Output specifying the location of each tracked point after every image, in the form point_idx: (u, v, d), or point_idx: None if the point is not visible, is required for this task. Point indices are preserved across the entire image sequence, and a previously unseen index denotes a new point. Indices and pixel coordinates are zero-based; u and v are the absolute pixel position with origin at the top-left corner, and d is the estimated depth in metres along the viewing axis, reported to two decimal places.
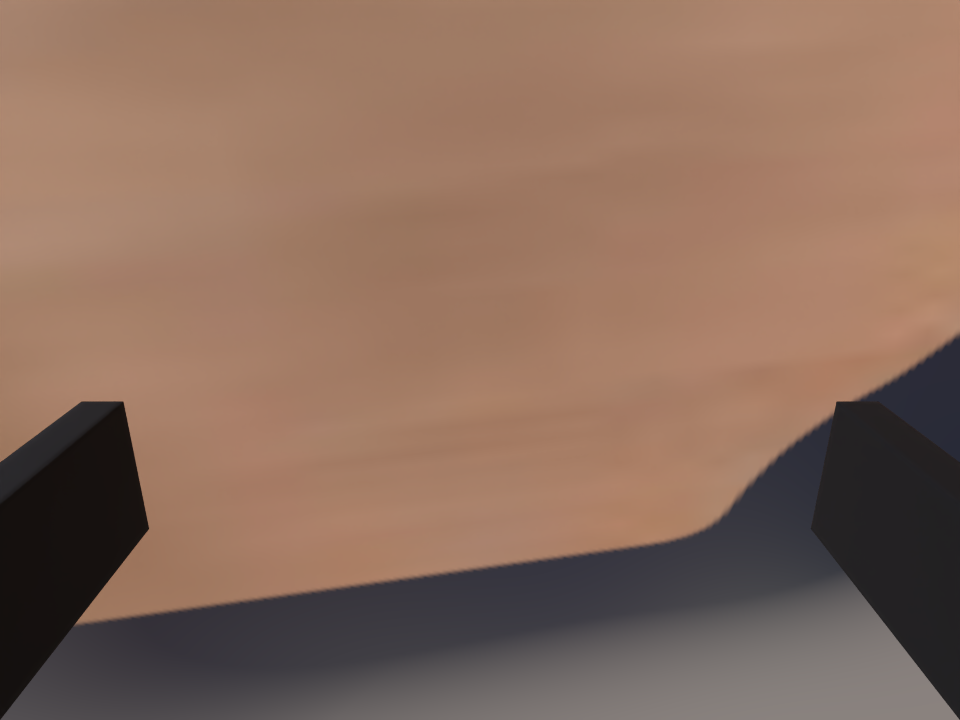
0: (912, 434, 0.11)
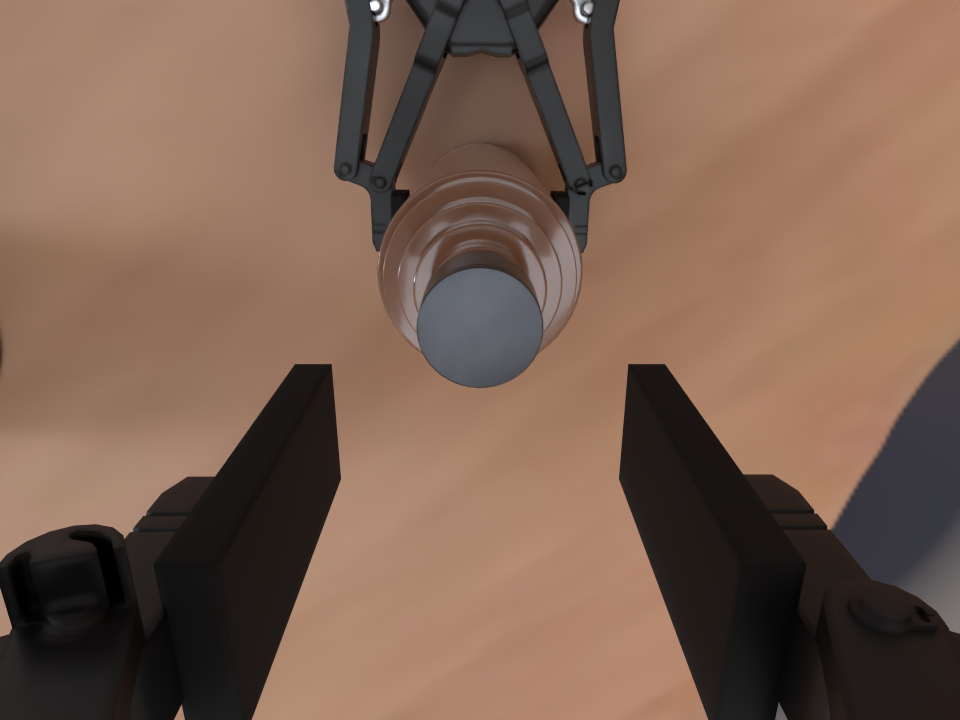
0: (673, 389, 0.13)
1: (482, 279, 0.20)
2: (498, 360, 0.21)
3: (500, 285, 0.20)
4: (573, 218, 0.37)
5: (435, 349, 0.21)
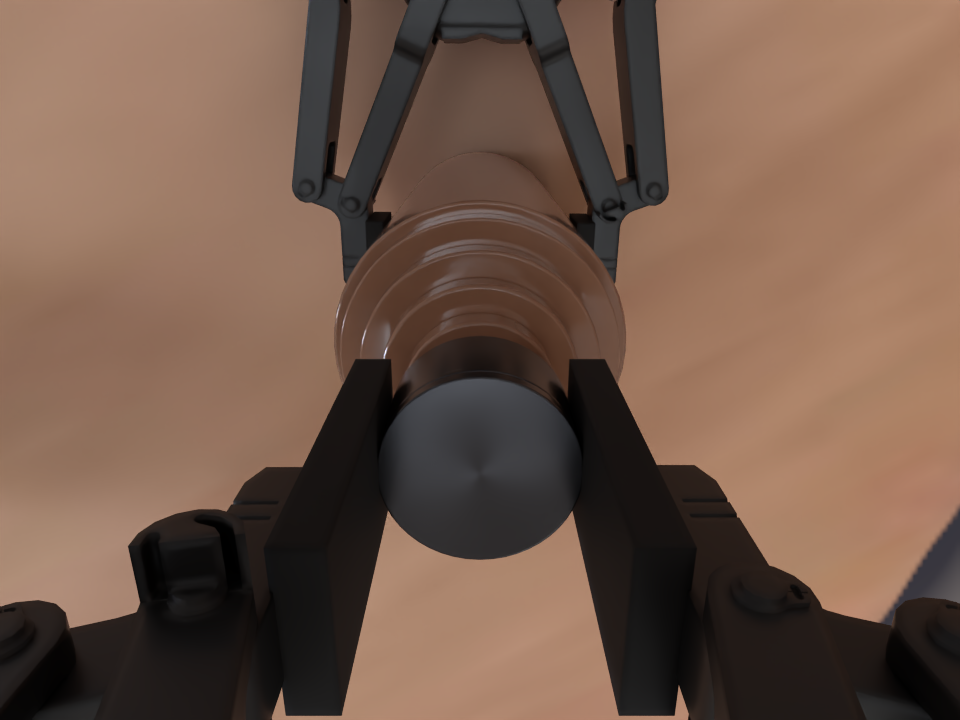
0: (608, 382, 0.13)
1: (484, 396, 0.12)
2: (510, 519, 0.13)
3: (514, 405, 0.12)
4: (599, 249, 0.29)
5: (407, 503, 0.13)
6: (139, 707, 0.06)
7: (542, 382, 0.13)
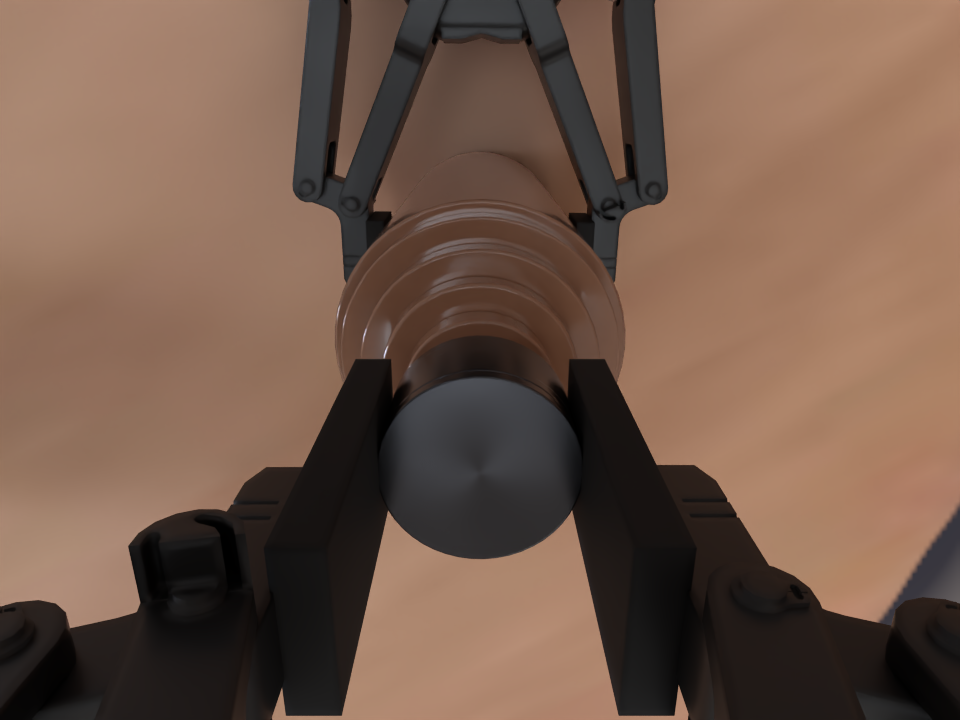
0: (608, 382, 0.13)
1: (396, 473, 0.12)
2: (533, 443, 0.12)
3: (403, 447, 0.12)
4: (598, 248, 0.29)
5: (517, 533, 0.13)
6: (140, 707, 0.06)
7: (395, 404, 0.13)
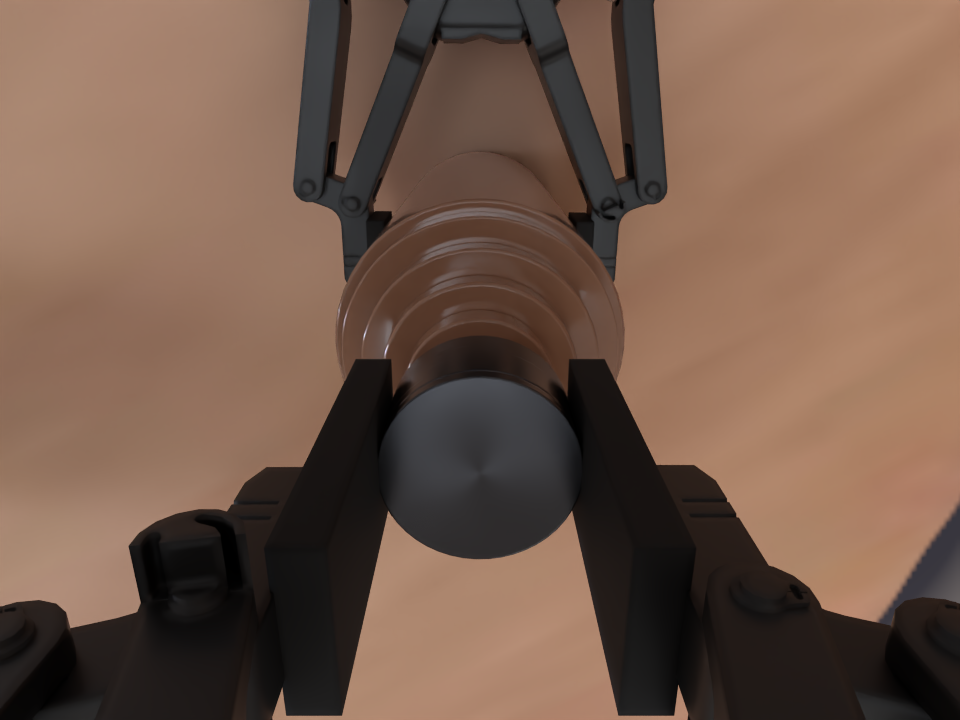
0: (607, 382, 0.13)
1: (484, 543, 0.13)
2: (443, 427, 0.12)
3: (456, 538, 0.13)
4: (598, 248, 0.30)
5: (551, 434, 0.12)
6: (140, 707, 0.06)
7: None
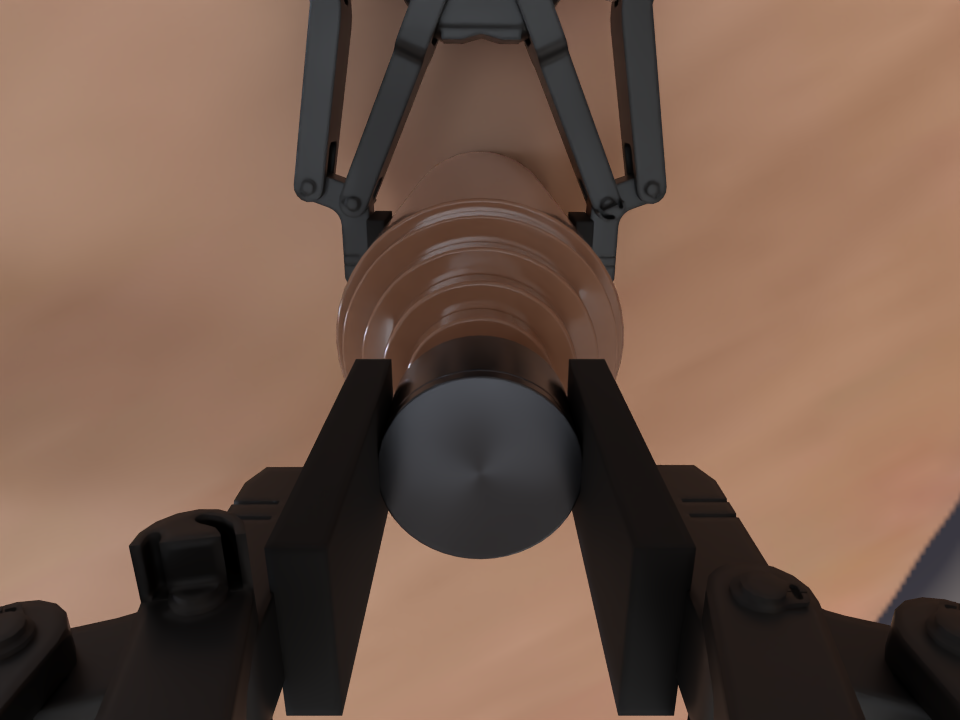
0: (607, 382, 0.13)
1: (564, 465, 0.12)
2: (432, 506, 0.13)
3: (557, 491, 0.13)
4: (597, 247, 0.30)
5: (432, 411, 0.12)
6: (140, 707, 0.06)
7: None
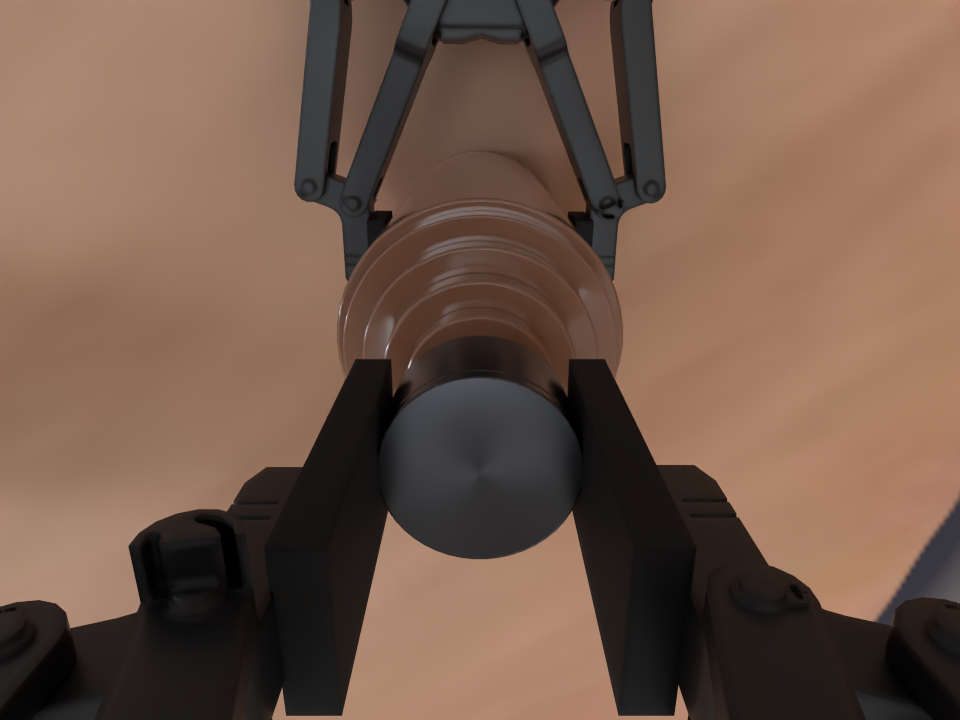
0: (607, 382, 0.13)
1: (466, 397, 0.12)
2: (520, 513, 0.13)
3: (497, 400, 0.12)
4: (597, 246, 0.30)
5: (416, 514, 0.13)
6: (140, 707, 0.06)
7: (524, 371, 0.13)
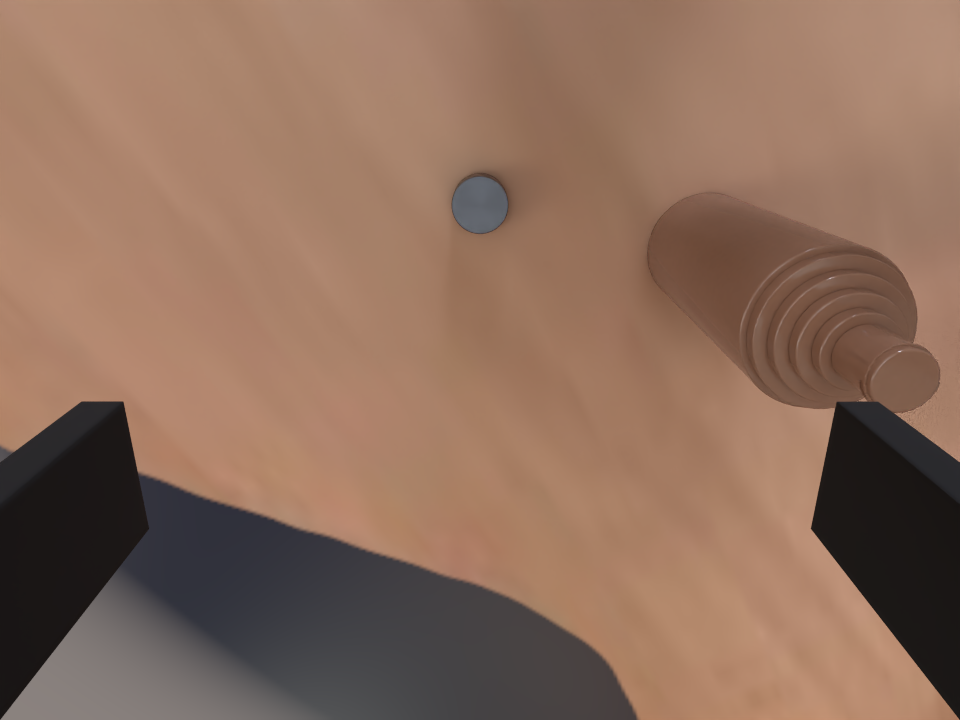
0: (912, 434, 0.11)
1: (476, 182, 0.46)
2: (491, 218, 0.46)
3: (484, 183, 0.46)
4: None
5: (462, 218, 0.46)
6: None
7: (492, 178, 0.46)
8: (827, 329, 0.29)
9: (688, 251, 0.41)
